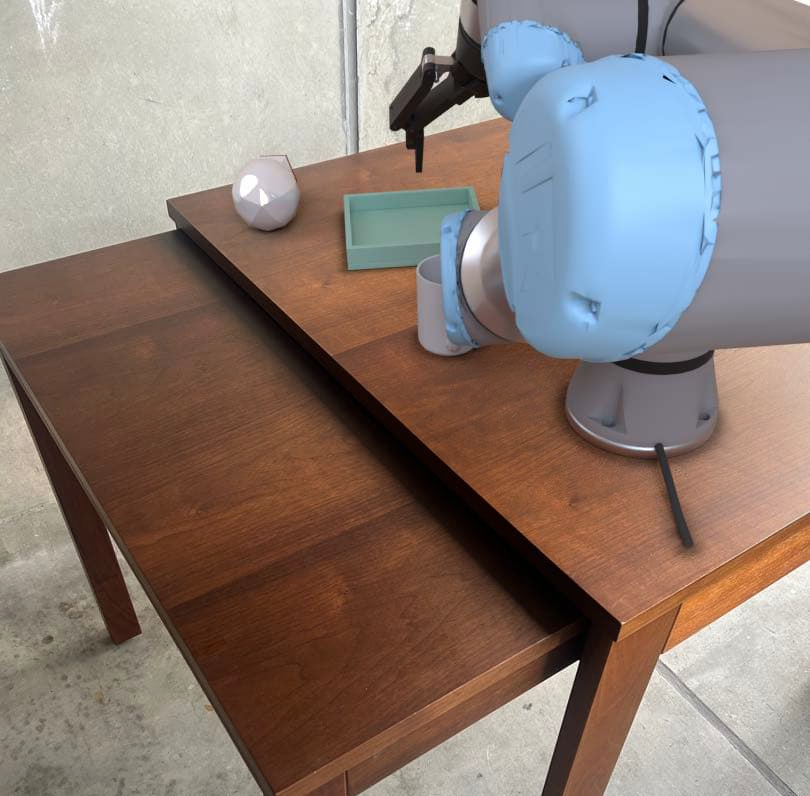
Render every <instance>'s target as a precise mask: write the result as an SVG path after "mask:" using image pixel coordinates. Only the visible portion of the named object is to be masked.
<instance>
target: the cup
mask: <svg viewBox="0 0 810 796" xmlns="http://www.w3.org/2000/svg"><path fill="white" fill-rule="evenodd" d="M415 269H416V271H415V274H416V278H415V279H416V308H417V309H416V311H417V314H416V315H417V338H418V342H419V344H420V346H422V347H423V348H424V349H425V350H426V351H427V352H429V353H431V354H433V355H437V356H444V357H453V356H459V355H464V354H466V353H468V352H470V351H471V350H473V349H475V348H474V347H472V346H457V345H454V344H452V343H451V342H450V341H449V339H448V337H447V334H446V327H445V316H444V308H443V295H442V279H441V259H440V254H439V255H434V256H431V257H428V258H426V259H424V260H423V261H421V262H420V263H419V264H418V265H417V266H416V268H415Z"/></svg>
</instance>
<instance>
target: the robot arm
mask: <svg viewBox="0 0 810 796" xmlns="http://www.w3.org/2000/svg"><path fill="white" fill-rule="evenodd" d="M446 73H448V74H447V76H446V78H444V79H443V80H442V81H440V78H442V76H443V75H444V74H446ZM434 84H437V85H435V86H434ZM471 98H474V99H484V98H486V99H487V98H489V101H490V103H491V105H492V106H493V108H494V110H495V111H496V112H497V113H498V115H500V116H501V118H503V119H505V120H507V121H508V122H510V123H511V127H510V128H509V129H510V130H509V133H508V144H509V151H508V152H506V153H505V154H504V157H503V161H502V166H501V169H500V170H501V171H500V180H499V192H498V205H497V206H494V207H493V208H492V209H480V210H479V211H477V210H475V209H466V210H465V211H462V212H455V213H450V214H448V215H446V216H445V217H444V218H443V220H442V222H441V225H440V239H441V241H440V259H441V279H442V295H443V308H444V316H445V327H446V334H447V337H448V339H449V341H450V342H451V343H452V344H454V345H457V346H472V347H474V348H473V349H477V348H483V347H485V346H492V345H493V346H494V345H505V344H506V345H507V344H527V345H528V344H529V346H531V347H532V349H535V350H536V351H537V352H539V353H541V354H543V355H545V356H547V357H550V358H553V359H560V360H570V359H571V360H573V359H574V360H575V359H577V360H580V361H579V363H578V366H577V367H576V369H575V371H574V373H573V375H572V377H571V378H570V381H569V384H568V386H567V390H566V394H565V403H564V411H565V416H566V419H567V422H568V423H569V425H570V427H572V429H573V431H575V432H576V433H577V434H578V435H579V436H580V437H581V438H582V439H583V440H585V441H586V442H588V443H590V444H592V445H593V446H595V447H597V448H599V449H601V450H604V451H607V452H609V453H613V454H615V455H619V456H624V457H628V458H636V459H652V460H653V459H658V463H659V464H658V465H659V467H660V471H661V473H662V478H663V482H664V485H665V488H666V492H667V496H668V501H669V503H670V507H671V510H672V513H673V516H674V517H673V518H674V521H675V523H676V526H677V530H678V532H679V534H680V536H681V537H680V538H681V540H682V543H683V545H684V548H686V549H690V548H692V547H694V545H695V544H694V540H693V538H692V535H691V532H690V530H689V527H688V524H687V521H686V519H685V515H684V513H683V509H682V506H681V503H680V499H679V495H678V492H677V488H676V485H675V482H674V481H675V480H674V478H673V475H672V471H671V468H670V464H669V460H668V458H672V457H676V456H681V455H684V454H687V453H690V452H691V451H694V450H696V449H697V448H699V447H700V446H702V445H703V444H704V443H705V442H707V441H708V440H709V438H710V437H711V436H712V434H713V433H714V430H715V428H716V423H717V420H718V417H719V408H720V399H719V393H718V392H719V391H718V383H717V375H716V367H715V359H714V357H715V356H714V355H715V351H717V350H719V351H720V350H730V349H733V350H734V349H743V348H744V349H745V348H746V349H747V348H758V347H761V348H762V347H772V346H788V345H789V346H790V345H801V344H810V5H809V4H806V3H804V2H801V1H797V0H460V8H459V17H458V25H457V36H456V45H455V49H454V51H453V52H452V53H451V54H450V55H437V54H436V49H435V48H434V47H432V46H426V47H424V48H423V50H422V54H421V58H420V63H419V65H418V66H417V67H416V69H414V71H413V73H412V74H411V75H410V77H409V79H407V81H406V82H405V84H403V87H402V88H401V89H400V91H399V92H398V93H397V95H396V96H395V98H394V99H393V100H392V102H390V104H389V106H388V123H389V125H388V127H389V130H390V131H391V132H399V131H400V130H403V131H404V132H405V148H406V149H407V151H408V150H409V151H410V150H414V164H415V165H414V166H415V167H414V168H415V174H422V173H423V165H424V164H423V163H424V148H425V147H424V146H425V128H426V127H428V126H429V125H430V124H431V123H433V122H434V121H435V120H437V119H439V118H440V117H441V116H442V115H444V114H445V113H446V112H447V111H449V110H450V109H452V108H453V107H454V106H456V105H457V106H462V105H464V104H465V103H466V102H467V101H469V100H470V99H471Z"/></svg>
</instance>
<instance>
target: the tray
mask: <svg viewBox="0 0 810 796" xmlns="http://www.w3.org/2000/svg"><path fill="white" fill-rule="evenodd" d="M342 197H343V212H344V229H345V249H346V260H347V270H348V271H357V270H371V269H372V270H374V269H387V268H400V267H402V268H403V267H414V266H415V267H417V266H418V264H419V263H420V262H421V261H423V260H424V259H426V258H428V257H431V256H434V255H439V254H440V241H441V239H440V225H441V222H442V220H443V218H444V217H445V216H446V215H448V214H450V213H455V212H462V211H465V210H466V209H475V210H477V211H479V210H481V207H480V204H479V201H478V198H477V195H476V191H475V187H474V185H470V186H453V187H440V188H439V187H438V188H424V189H423V188H422V189H407V190H393V191H391V190H390V191H378V192H364V193H361V192H360V193H349V194H347V193H346V194H343V196H342Z"/></svg>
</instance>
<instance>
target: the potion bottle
mask: <svg viewBox="0 0 810 796" xmlns="http://www.w3.org/2000/svg"><path fill="white" fill-rule="evenodd" d="M301 195H302V192H301V190H300V186H299V184H298V179H297V177H296V175H295V172H294V170H293V167H292V165H291V162H290V160H289V158H288V156H287V154H271V155H259V156H255V158H254V159H250V160H248V161H247V162H246V163H245V164H244V165H243V166H242V167H241V168H239V169H238V170H237V171H236V172H235V173H234V176H233V181H232V188H231V193H230V196H231V199H232V202H233V205H234V209H235V211H236V213H237V214H238V215H239V216H240V218H242V219H243V221H244V222H245V223H246V224H247V226H248V227H251V228H255V229H259V230H262V231H266V232H269V231H273V230H277V229H282V228H283V227H285V226H286V225H287V224H288V223H290V222H291V221H292V220H293V219H294V218H295V216H297V214H298V210H299V205H300V200H301Z"/></svg>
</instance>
